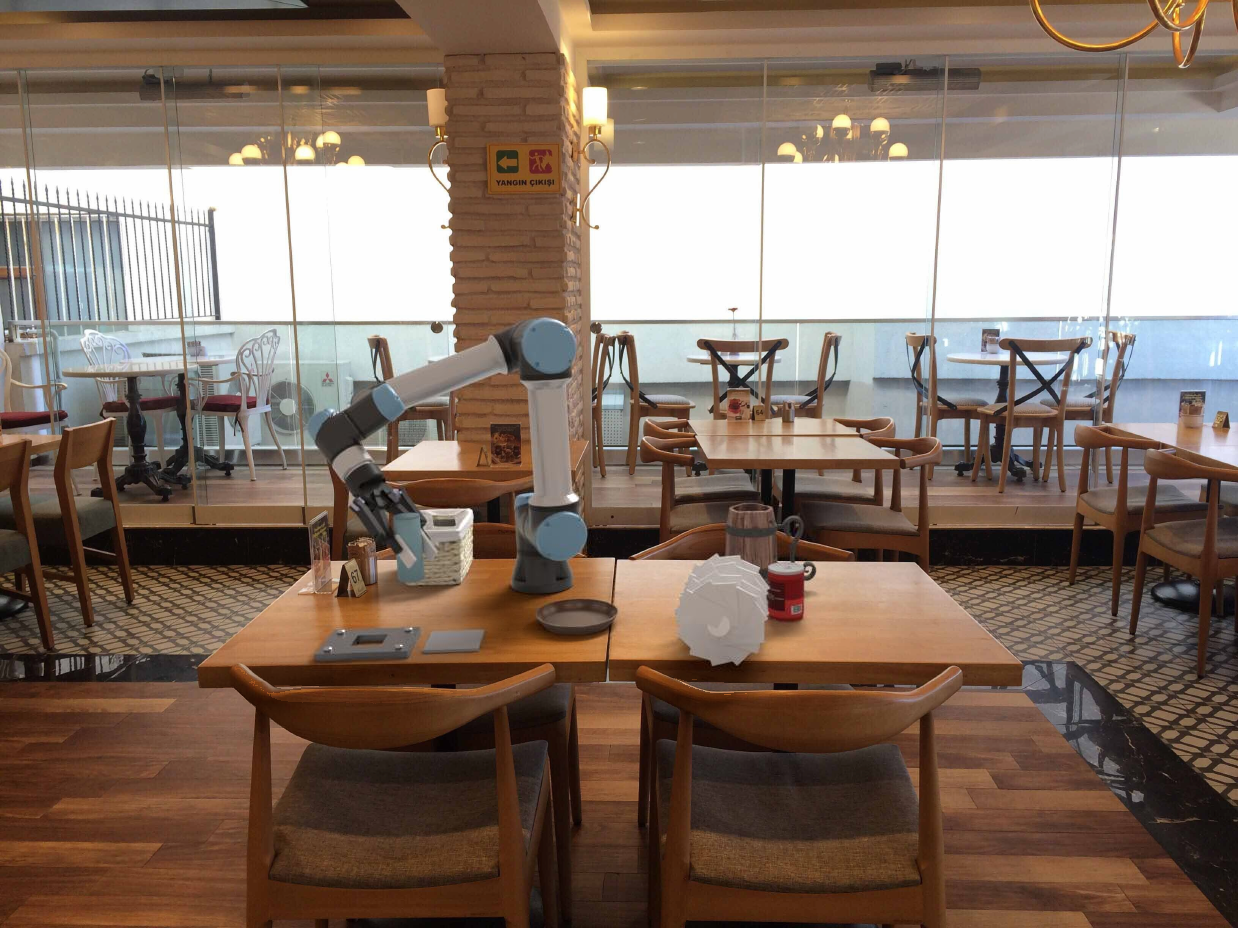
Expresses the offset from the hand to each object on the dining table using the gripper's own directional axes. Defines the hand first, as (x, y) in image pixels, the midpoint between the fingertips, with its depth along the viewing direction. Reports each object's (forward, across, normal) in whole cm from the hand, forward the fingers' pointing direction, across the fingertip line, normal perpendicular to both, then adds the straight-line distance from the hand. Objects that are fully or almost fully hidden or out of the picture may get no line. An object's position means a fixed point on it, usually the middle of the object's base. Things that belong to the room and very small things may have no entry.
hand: (423, 560), depth 186 cm
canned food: (+52, -53, +24) cm, 78 cm away
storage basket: (-13, -40, -40) cm, 58 cm away
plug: (0, 0, -6) cm, 6 cm away
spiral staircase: (+50, -29, +22) cm, 62 cm away
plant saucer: (+26, -27, -2) cm, 37 cm away
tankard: (+44, -68, +16) cm, 82 cm away
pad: (+14, -5, -12) cm, 19 cm away
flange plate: (+5, +6, -21) cm, 22 cm away
